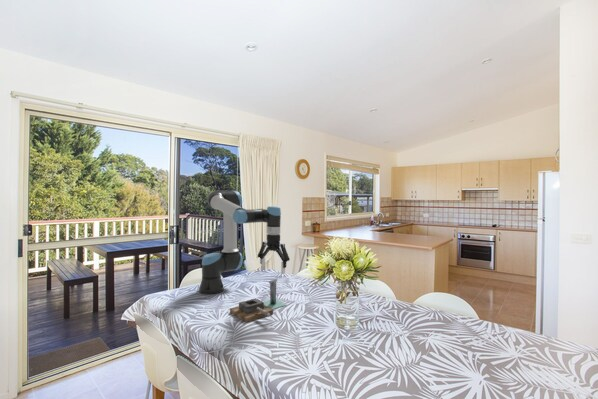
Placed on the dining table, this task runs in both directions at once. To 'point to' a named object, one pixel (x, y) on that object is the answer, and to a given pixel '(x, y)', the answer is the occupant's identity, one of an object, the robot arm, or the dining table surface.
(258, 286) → the dining table surface
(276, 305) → the mat
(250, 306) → the block
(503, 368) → the dining table surface
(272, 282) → the key
